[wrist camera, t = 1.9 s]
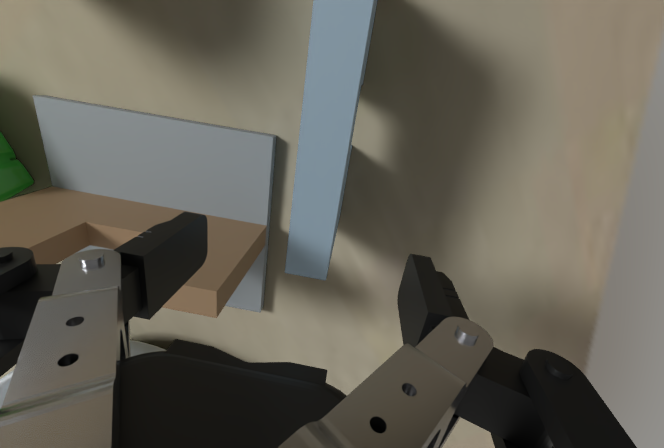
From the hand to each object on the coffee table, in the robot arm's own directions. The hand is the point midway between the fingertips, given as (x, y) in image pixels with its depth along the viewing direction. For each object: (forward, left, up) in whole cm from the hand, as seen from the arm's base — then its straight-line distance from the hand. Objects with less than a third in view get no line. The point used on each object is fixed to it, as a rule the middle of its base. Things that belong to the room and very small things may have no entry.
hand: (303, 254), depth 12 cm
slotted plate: (-5, 0, -10) cm, 11 cm away
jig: (+4, -12, -10) cm, 16 cm away
